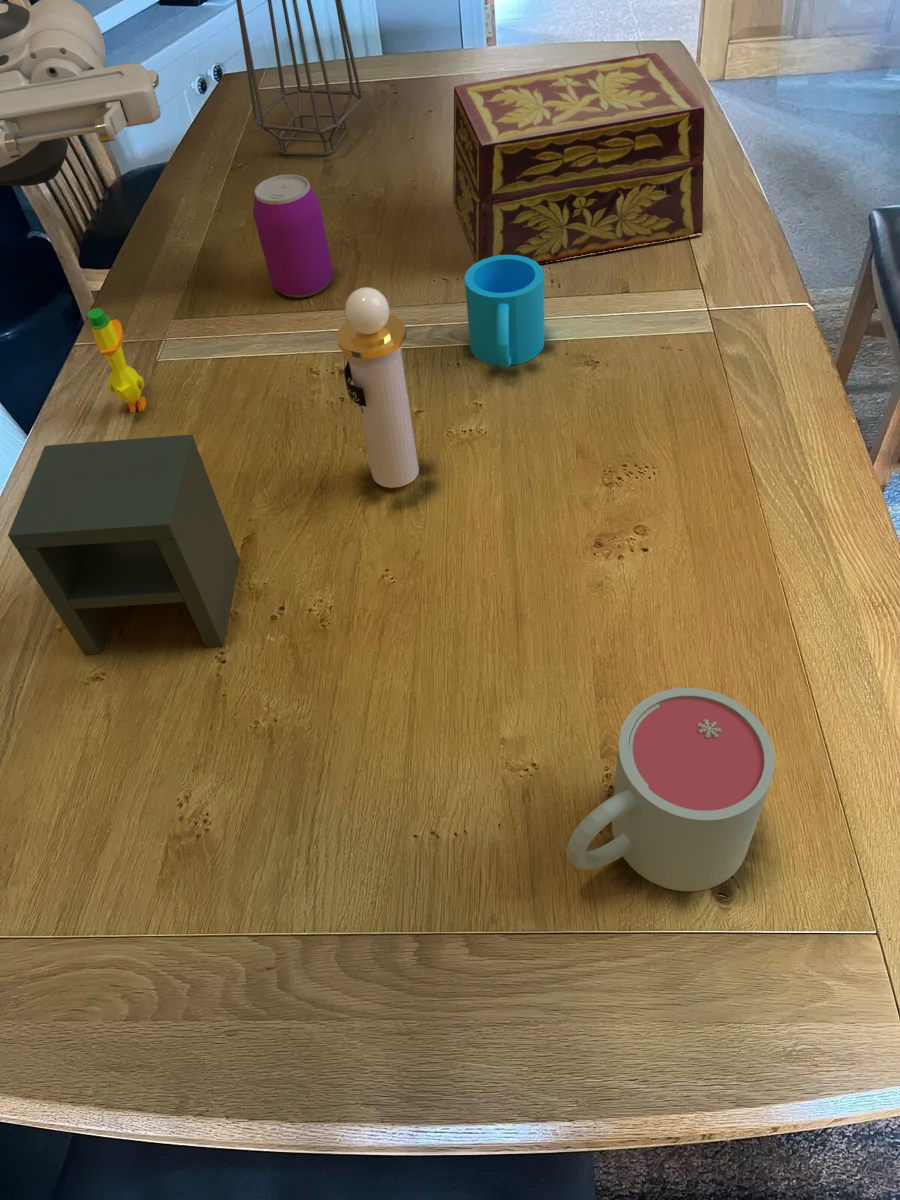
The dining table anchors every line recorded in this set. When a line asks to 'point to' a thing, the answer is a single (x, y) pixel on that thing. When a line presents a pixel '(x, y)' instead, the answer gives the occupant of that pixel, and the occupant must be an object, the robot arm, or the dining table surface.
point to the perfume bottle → (379, 385)
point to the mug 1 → (505, 309)
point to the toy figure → (117, 360)
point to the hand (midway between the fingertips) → (57, 142)
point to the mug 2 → (682, 791)
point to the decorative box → (578, 159)
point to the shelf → (126, 534)
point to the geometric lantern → (251, 73)
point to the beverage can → (292, 236)
